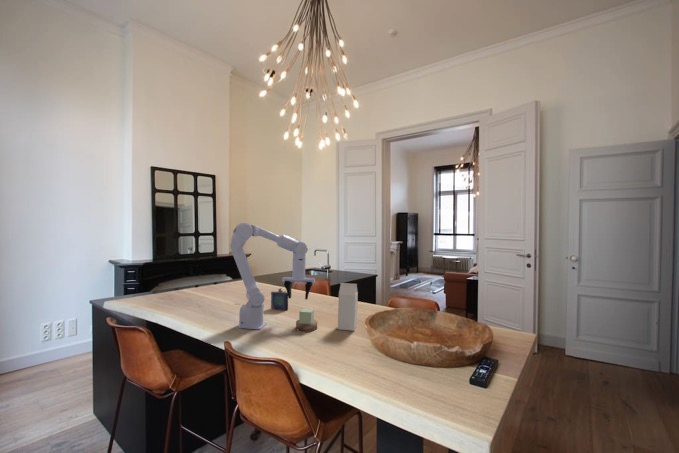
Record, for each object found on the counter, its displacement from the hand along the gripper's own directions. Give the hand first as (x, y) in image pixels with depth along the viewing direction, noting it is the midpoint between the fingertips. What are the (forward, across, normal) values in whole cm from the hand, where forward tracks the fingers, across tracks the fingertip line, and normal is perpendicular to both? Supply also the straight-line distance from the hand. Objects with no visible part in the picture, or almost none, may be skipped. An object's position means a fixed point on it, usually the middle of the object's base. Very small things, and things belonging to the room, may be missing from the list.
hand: (298, 298), depth 139 cm
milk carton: (+11, +23, -4) cm, 26 cm away
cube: (+8, +6, -8) cm, 12 cm away
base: (+10, +6, -7) cm, 14 cm away
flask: (+11, -14, +17) cm, 25 cm away
